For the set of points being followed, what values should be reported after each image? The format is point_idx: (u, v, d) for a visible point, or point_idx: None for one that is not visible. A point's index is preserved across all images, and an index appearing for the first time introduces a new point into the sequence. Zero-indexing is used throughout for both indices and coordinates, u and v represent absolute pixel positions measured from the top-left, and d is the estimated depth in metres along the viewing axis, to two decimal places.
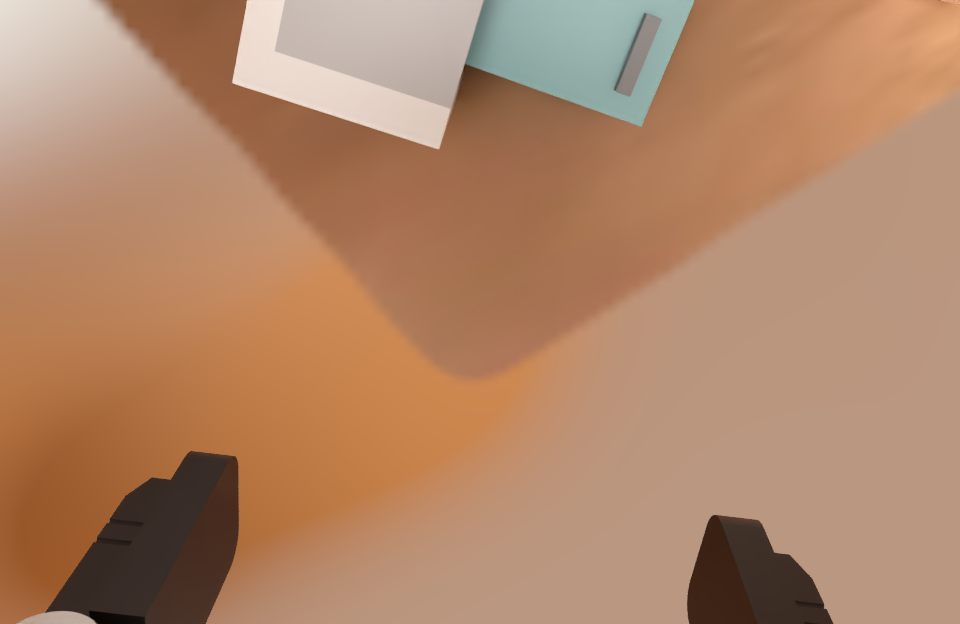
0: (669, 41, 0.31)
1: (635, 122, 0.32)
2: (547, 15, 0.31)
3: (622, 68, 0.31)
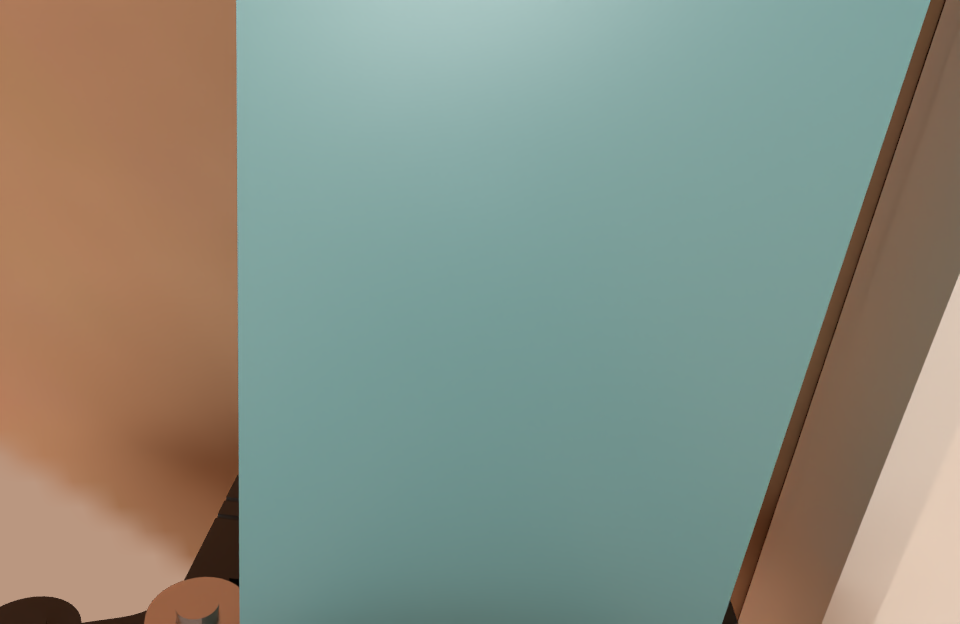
0: None
1: None
2: (508, 562, 0.08)
3: None
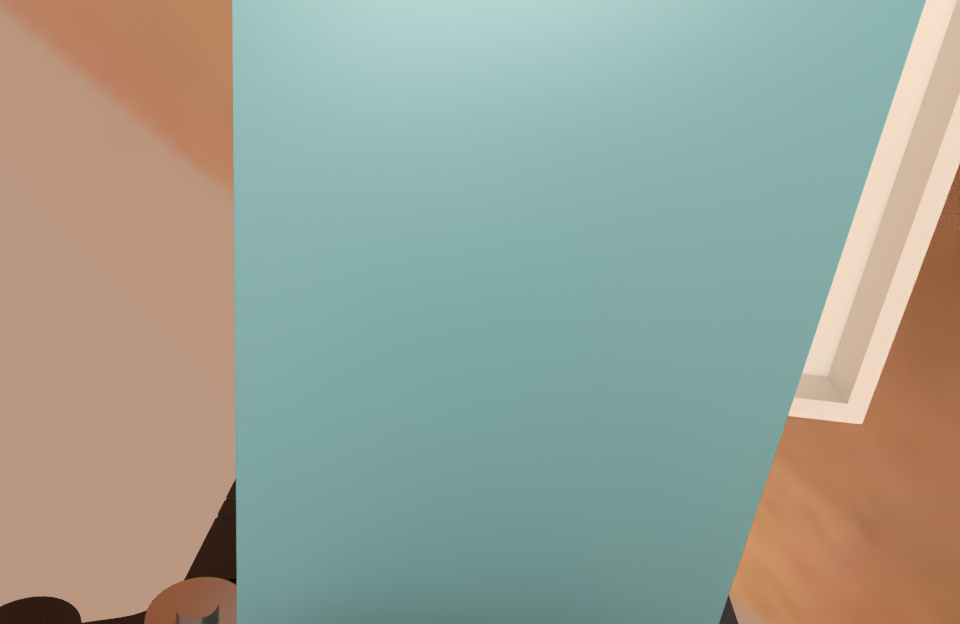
0: None
1: None
2: (505, 562, 0.08)
3: None
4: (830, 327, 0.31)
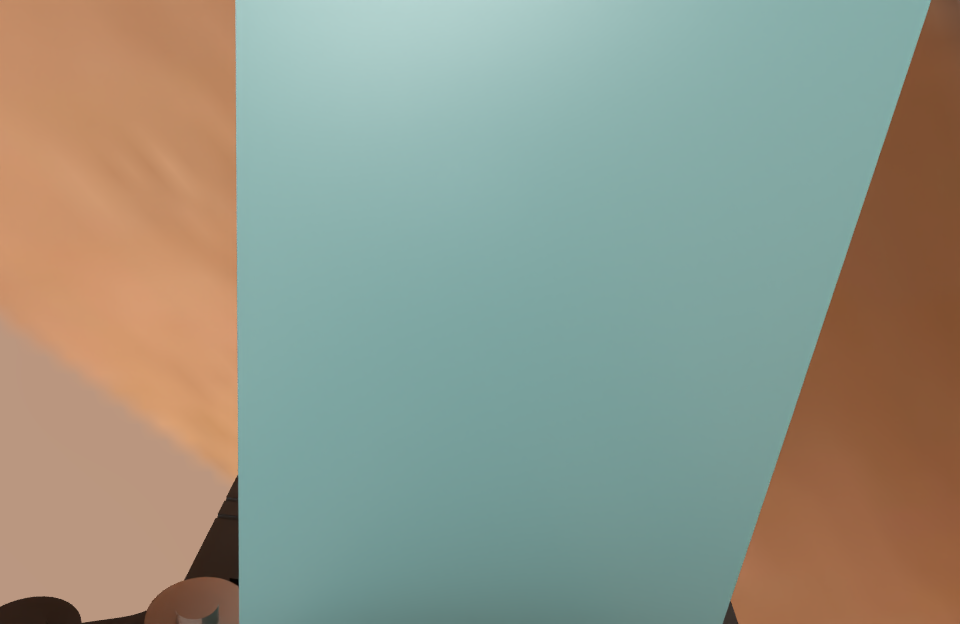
0: None
1: None
2: (508, 565, 0.08)
3: None
4: None
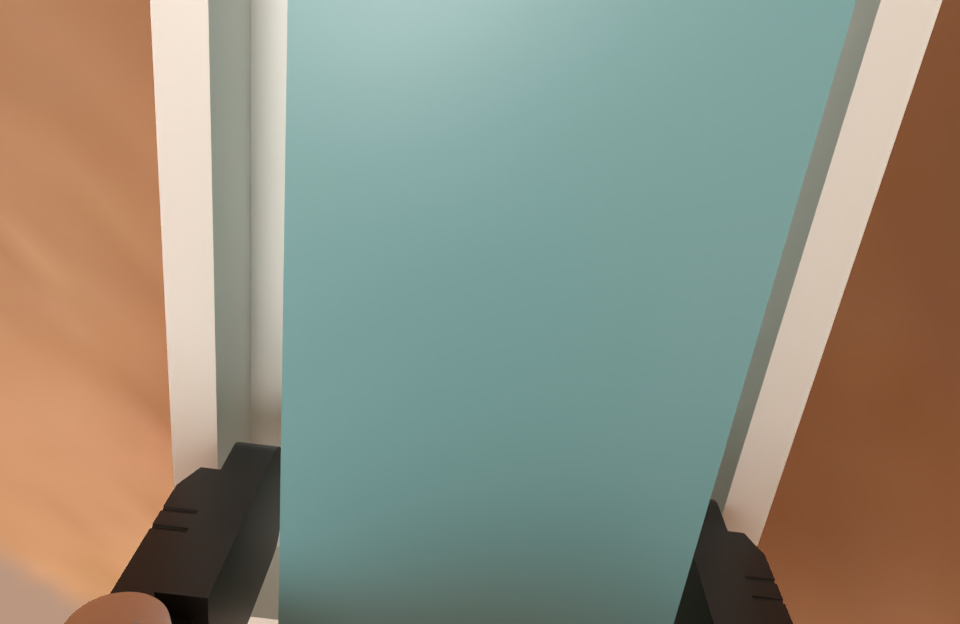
0: None
1: None
2: (511, 494, 0.09)
3: None
4: None
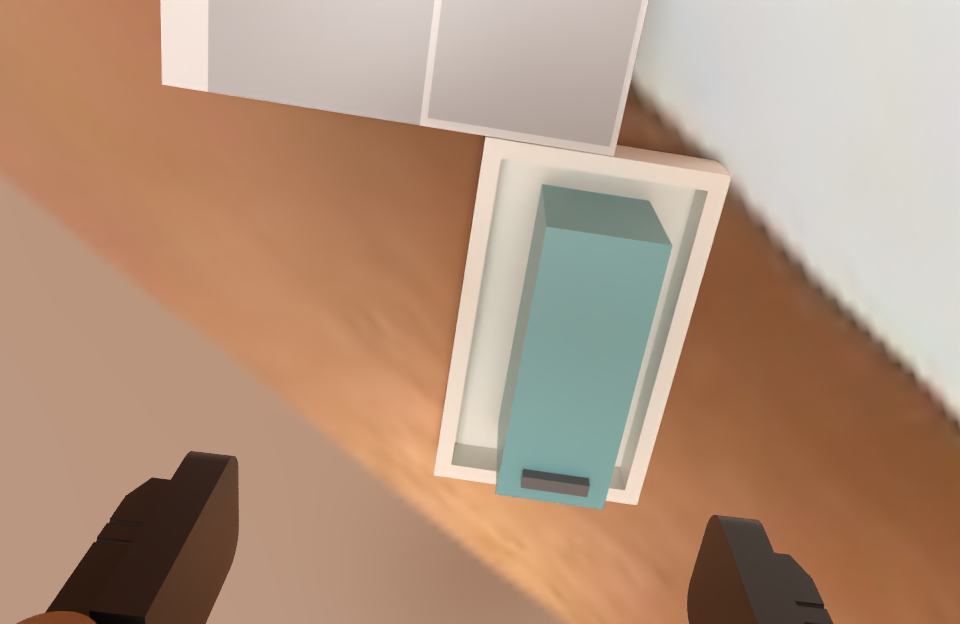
0: (569, 499, 0.37)
1: (498, 489, 0.37)
2: (575, 409, 0.35)
3: (541, 472, 0.36)
4: None
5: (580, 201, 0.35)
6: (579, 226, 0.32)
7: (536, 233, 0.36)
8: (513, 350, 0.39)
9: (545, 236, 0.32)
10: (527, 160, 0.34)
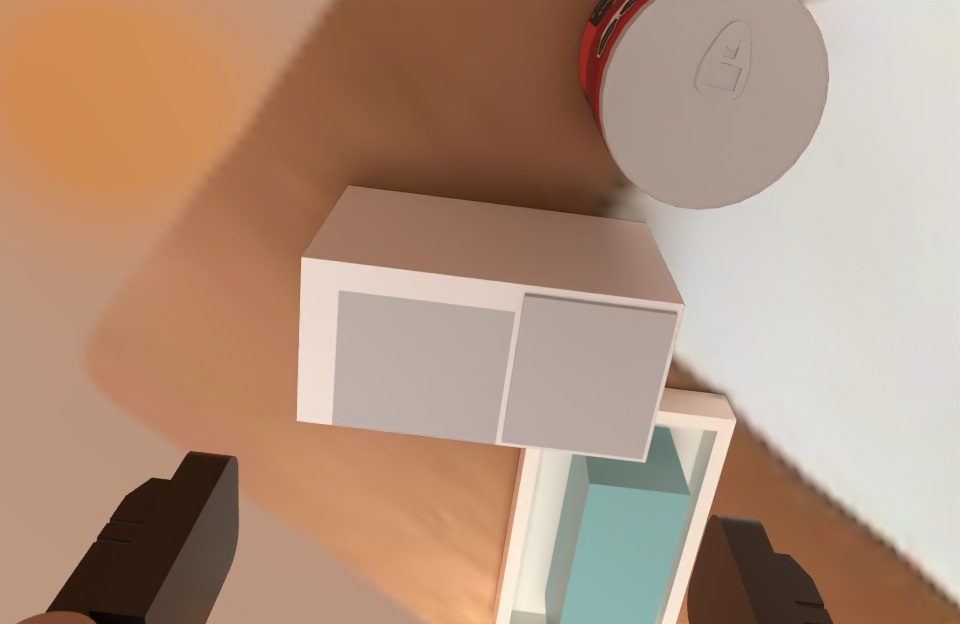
0: None
1: None
2: (614, 611, 0.43)
3: None
4: None
5: None
6: (615, 479, 0.40)
7: (577, 463, 0.44)
8: (558, 545, 0.47)
9: (588, 490, 0.40)
10: None
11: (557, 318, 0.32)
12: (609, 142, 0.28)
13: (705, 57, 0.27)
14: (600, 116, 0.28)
